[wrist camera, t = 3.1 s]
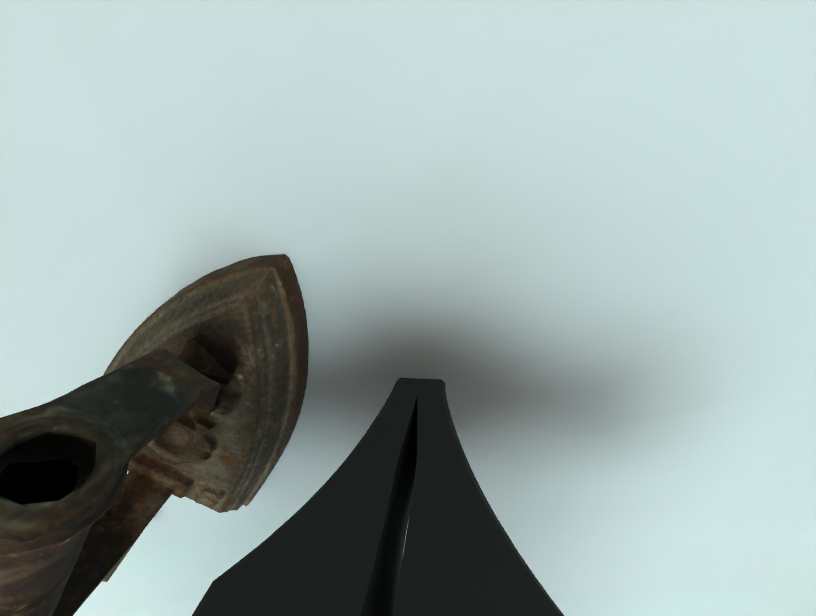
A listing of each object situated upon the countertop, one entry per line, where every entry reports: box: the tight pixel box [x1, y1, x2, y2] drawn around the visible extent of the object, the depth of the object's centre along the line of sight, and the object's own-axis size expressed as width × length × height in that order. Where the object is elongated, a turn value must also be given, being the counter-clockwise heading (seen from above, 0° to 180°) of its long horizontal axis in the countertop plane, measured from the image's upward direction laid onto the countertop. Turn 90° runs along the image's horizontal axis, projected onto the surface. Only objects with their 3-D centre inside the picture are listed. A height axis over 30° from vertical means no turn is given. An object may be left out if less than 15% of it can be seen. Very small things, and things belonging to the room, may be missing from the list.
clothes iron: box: [0, 255, 308, 616], centre depth 10 cm, size 7×11×10 cm, turn 147°
